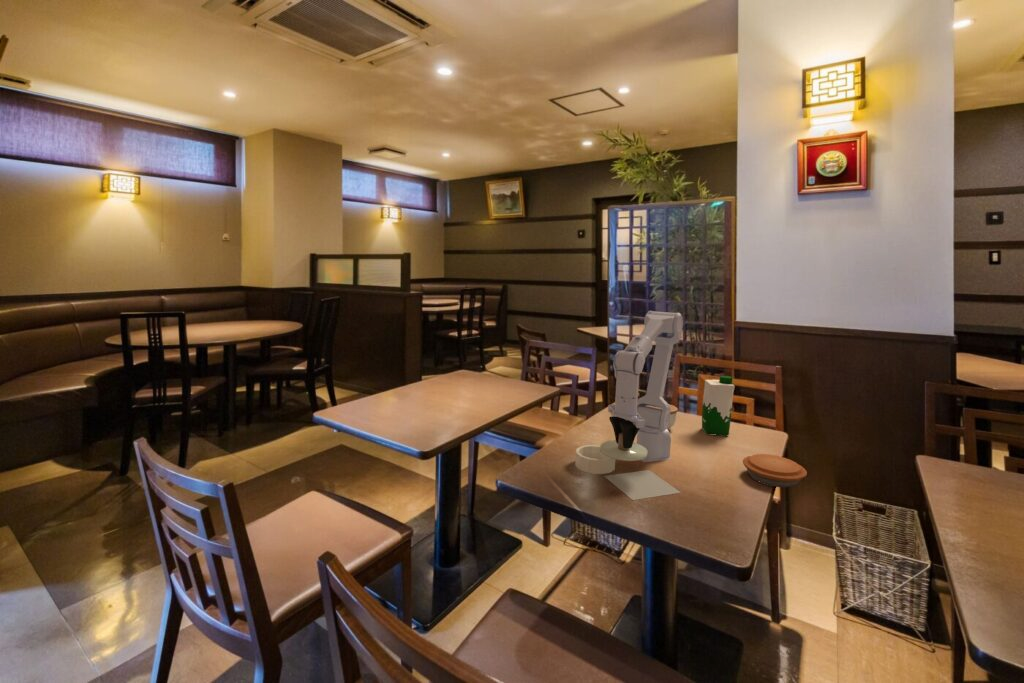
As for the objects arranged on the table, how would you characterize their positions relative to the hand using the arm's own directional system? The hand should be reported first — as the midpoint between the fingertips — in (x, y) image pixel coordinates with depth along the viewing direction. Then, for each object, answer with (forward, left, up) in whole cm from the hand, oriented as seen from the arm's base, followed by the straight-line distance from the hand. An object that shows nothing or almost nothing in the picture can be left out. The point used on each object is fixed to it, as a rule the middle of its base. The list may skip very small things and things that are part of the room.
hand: (623, 445), depth 129 cm
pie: (-40, +12, -10) cm, 43 cm away
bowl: (+4, -8, -9) cm, 13 cm away
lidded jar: (-35, -32, -10) cm, 49 cm away
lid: (0, 0, -2) cm, 2 cm away
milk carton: (-51, -23, -10) cm, 57 cm away
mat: (-2, +6, -9) cm, 11 cm away
